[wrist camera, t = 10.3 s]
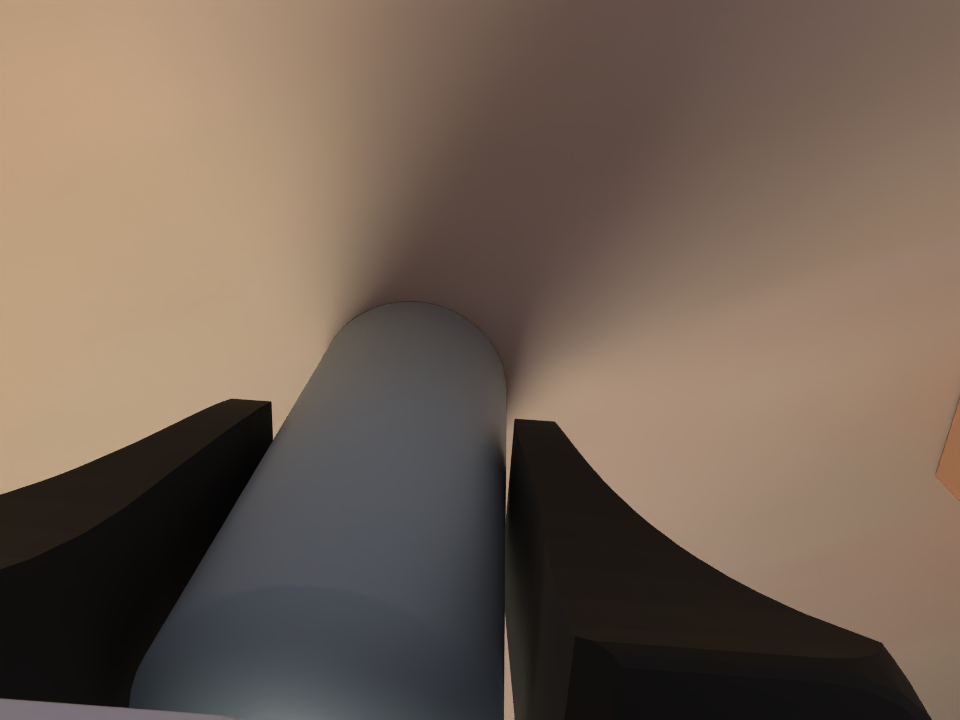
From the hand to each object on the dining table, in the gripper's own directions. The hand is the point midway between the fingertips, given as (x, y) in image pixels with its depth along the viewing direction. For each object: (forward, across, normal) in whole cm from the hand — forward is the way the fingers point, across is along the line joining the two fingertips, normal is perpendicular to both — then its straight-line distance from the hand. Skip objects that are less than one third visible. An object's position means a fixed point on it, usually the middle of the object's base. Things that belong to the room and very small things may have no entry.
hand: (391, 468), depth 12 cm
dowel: (+3, 0, 0) cm, 3 cm away
